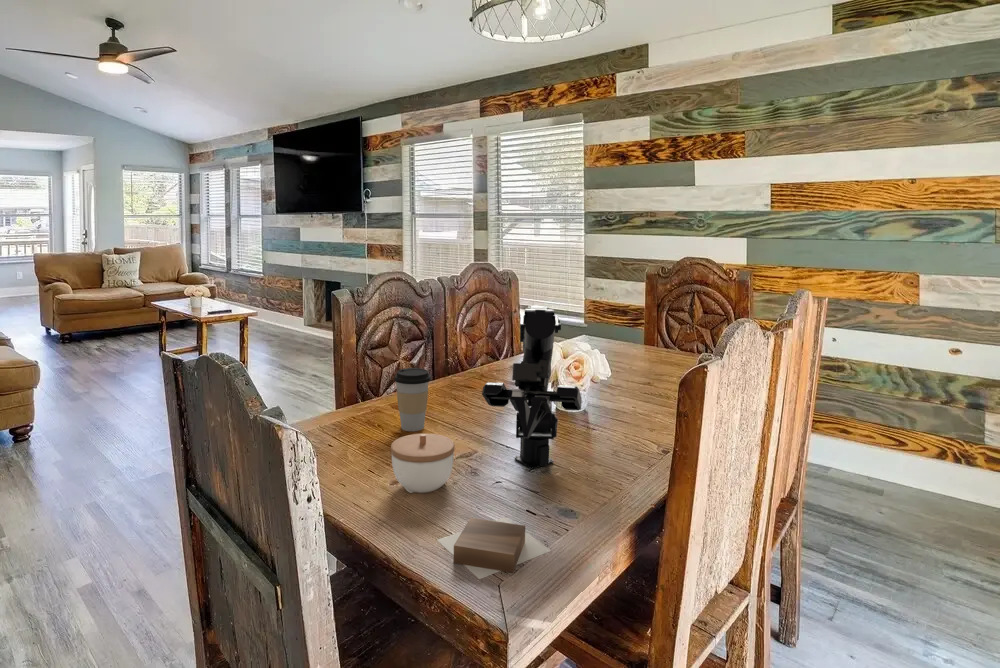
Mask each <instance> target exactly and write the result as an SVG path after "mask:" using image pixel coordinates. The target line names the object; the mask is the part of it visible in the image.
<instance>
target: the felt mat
mask: <svg viewBox="0 0 1000 668" xmlns="http://www.w3.org/2000/svg"><path fill="white" fill-rule="evenodd" d="M494 521H497V522H504V523H511V524H515V523H514V522H513V521H511V520H510V519H508V518H507V517H501V518H499V519H496V520H494ZM461 533H462V531H459V532H457V533H453V534H450V535H448V536H445V537H441V538H438V539H436V541H437V542H438V543H439V544H440V545H441V546H442V547H444V549H446V550H447V551H448V552H449V553H450V554H451V555H452V556H453V557H454V544H455V543H456V541H457V539H458V538H459V536H460V534H461ZM550 552H552V549H550V548H549V547H547V546H546V545H544V544H543V543H542V542H540V541H539V540H538V539H536V538H534V537H533V536H532V535H530V534H529V533H527V532H526V531H525V543H524V546H523V549H522V551H521V554H520V556H519V559H518V562H517V564H516V566H517V565H519V564H522V563H524V562H525V563H526V562H527V561H529V560H532V559H535V558H537V557H540V556H542V555H545V554H547V553H550ZM463 566H464V567H466V569H468V570H469V572H470V573H472V575H474V576H475V577H476V578H477V579H478V580H481V579H484V578H486V577H489V576H491V575H492V576H493V575H494V574H497V573H499V572H500V571H499V570H493V569H487V568H481V567H474V566H468V565H463Z"/></svg>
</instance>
